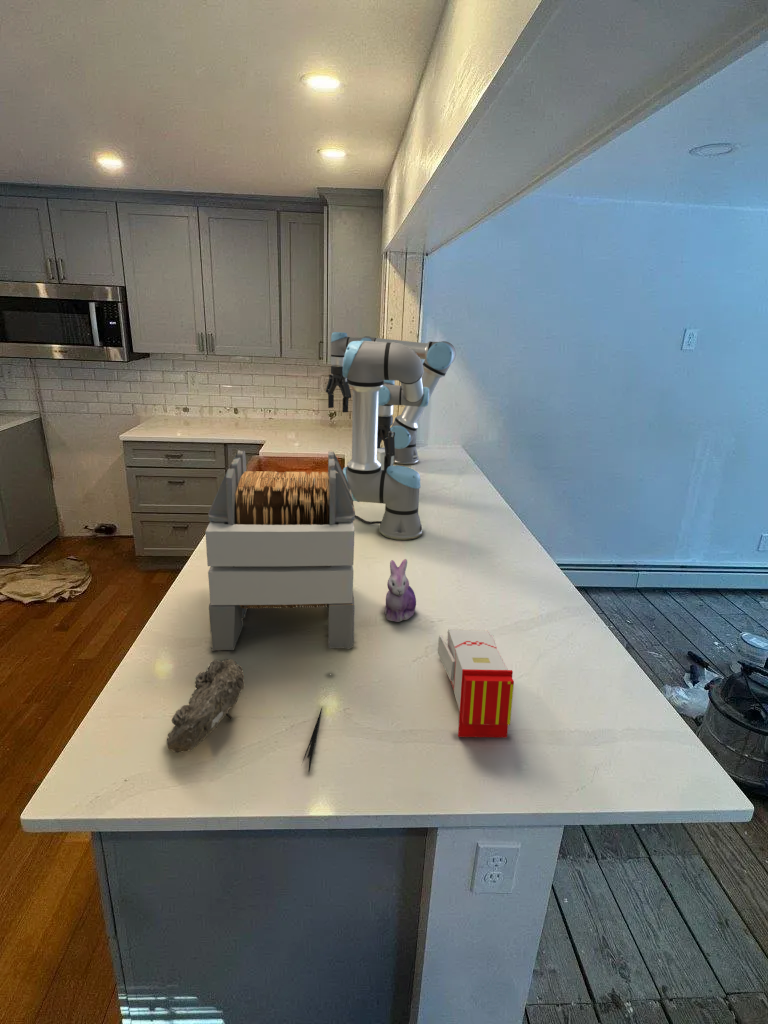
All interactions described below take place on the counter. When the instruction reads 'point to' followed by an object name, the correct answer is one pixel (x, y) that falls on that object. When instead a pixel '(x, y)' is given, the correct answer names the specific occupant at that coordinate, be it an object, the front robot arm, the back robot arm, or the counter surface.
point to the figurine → (399, 594)
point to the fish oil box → (381, 456)
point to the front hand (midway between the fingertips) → (381, 469)
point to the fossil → (206, 705)
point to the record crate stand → (281, 548)
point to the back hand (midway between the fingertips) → (337, 410)
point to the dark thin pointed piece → (313, 740)
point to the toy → (478, 682)
